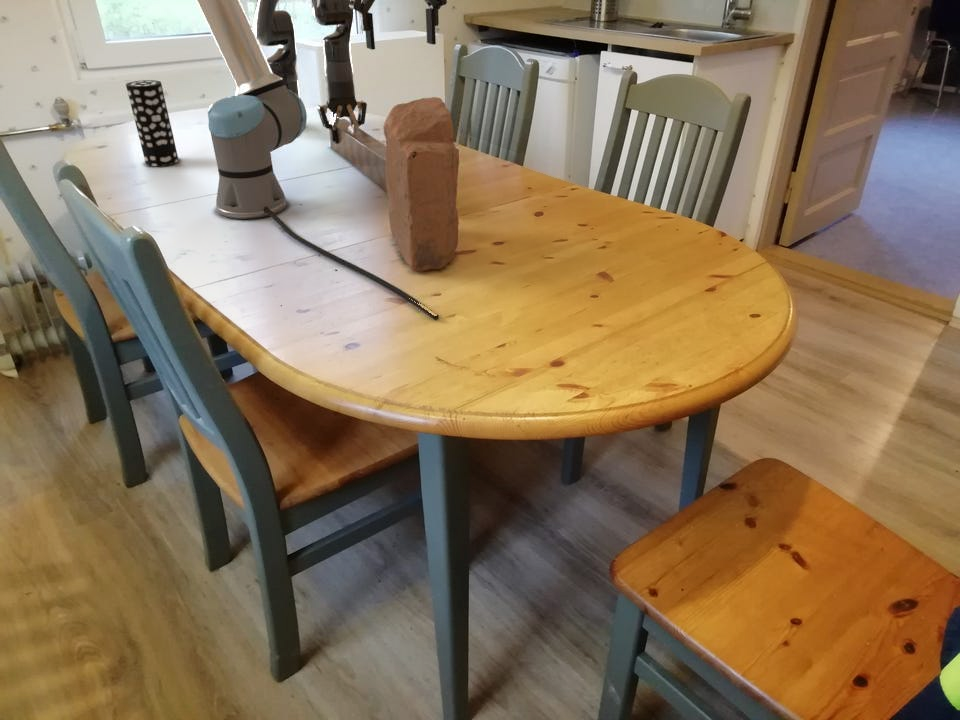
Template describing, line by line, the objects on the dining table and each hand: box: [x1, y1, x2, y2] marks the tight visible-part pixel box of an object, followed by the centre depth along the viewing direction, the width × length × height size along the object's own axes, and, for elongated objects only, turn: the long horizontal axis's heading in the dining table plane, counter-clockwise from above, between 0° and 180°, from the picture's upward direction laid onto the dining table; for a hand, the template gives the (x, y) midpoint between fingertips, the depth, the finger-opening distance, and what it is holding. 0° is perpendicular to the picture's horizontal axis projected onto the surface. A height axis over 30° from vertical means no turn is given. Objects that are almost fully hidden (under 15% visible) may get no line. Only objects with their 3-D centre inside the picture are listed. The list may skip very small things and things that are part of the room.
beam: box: [328, 118, 387, 192], centre depth 176 cm, size 62×5×8 cm, turn 29°
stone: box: [383, 96, 460, 272], centre depth 131 cm, size 22×11×28 cm, turn 18°
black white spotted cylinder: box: [125, 79, 179, 167], centre depth 181 cm, size 8×8×20 cm
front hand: (401, 46), depth 143 cm, fingers open, 13 cm apart
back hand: (345, 141), depth 195 cm, fingers closed on beam, 5 cm apart
